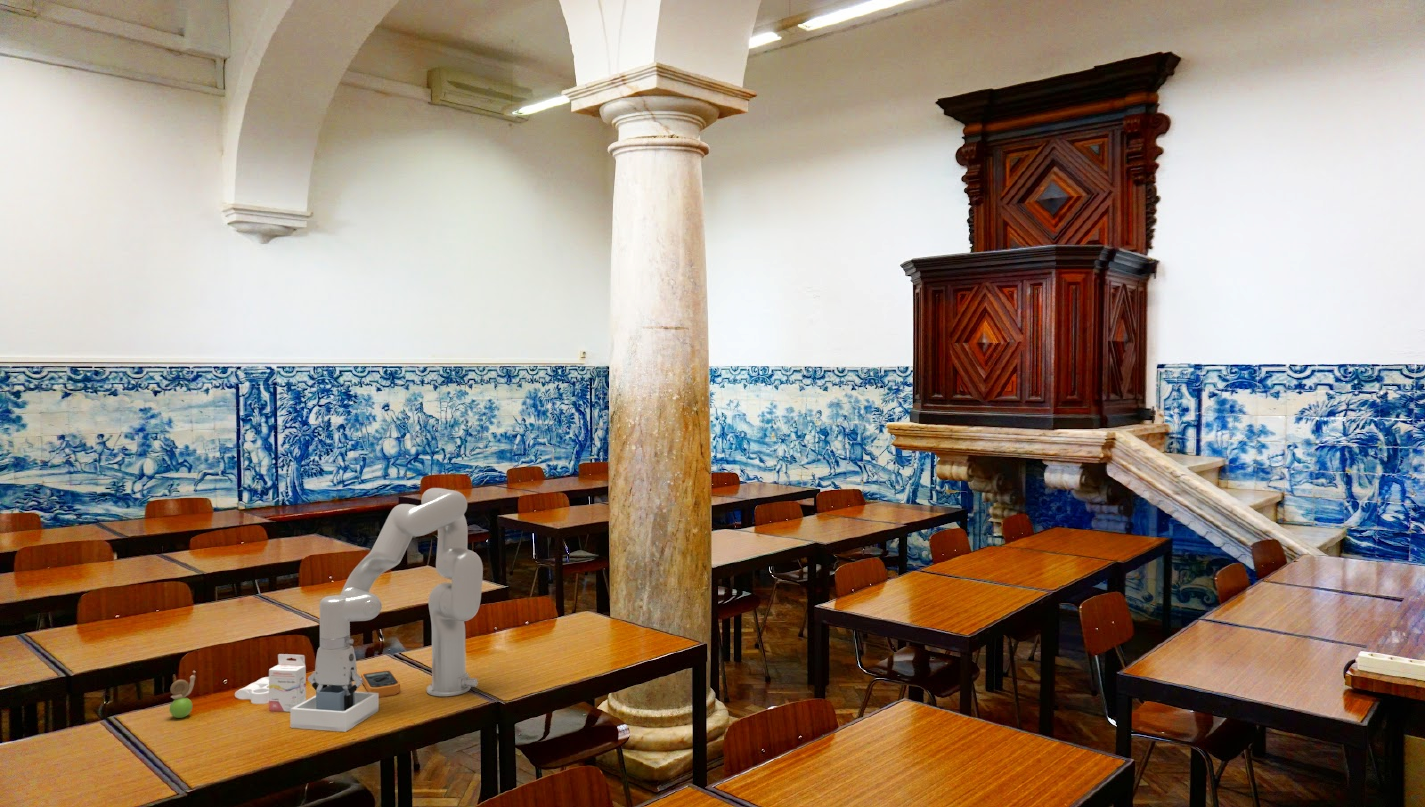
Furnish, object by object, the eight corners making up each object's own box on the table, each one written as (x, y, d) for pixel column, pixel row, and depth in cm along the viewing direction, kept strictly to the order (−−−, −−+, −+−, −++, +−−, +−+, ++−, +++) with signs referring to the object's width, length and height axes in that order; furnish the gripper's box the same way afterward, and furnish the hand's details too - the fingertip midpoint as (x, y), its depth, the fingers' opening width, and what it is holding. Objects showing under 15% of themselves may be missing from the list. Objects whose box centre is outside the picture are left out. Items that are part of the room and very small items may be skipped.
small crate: (354, 707, 258) (354, 685, 258) (340, 716, 251) (339, 693, 251) (331, 705, 259) (331, 683, 259) (316, 714, 252) (316, 692, 252)
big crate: (378, 710, 261) (378, 693, 261) (345, 731, 246) (345, 712, 246) (326, 707, 264) (326, 689, 264) (290, 727, 249) (290, 708, 249)
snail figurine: (199, 716, 258) (198, 672, 257) (173, 722, 253) (172, 678, 253) (192, 711, 261) (191, 668, 261) (166, 717, 257) (166, 673, 256)
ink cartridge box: (268, 711, 261) (267, 658, 261) (278, 705, 266) (277, 653, 266) (297, 712, 260) (296, 659, 260) (306, 706, 265) (306, 654, 265)
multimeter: (370, 700, 271) (370, 688, 271) (360, 683, 287) (360, 671, 287) (401, 695, 276) (401, 683, 275) (389, 678, 291) (389, 667, 291)
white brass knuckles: (265, 683, 286) (310, 685, 285) (227, 704, 269) (275, 706, 267) (265, 672, 286) (310, 674, 285) (227, 692, 269) (275, 694, 267)
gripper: (371, 640, 257) (372, 705, 257) (314, 637, 260) (315, 701, 260) (356, 647, 249) (357, 714, 250) (297, 644, 253) (298, 710, 253)
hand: (335, 707), depth 255 cm, fingers closed on small crate, 6 cm apart
